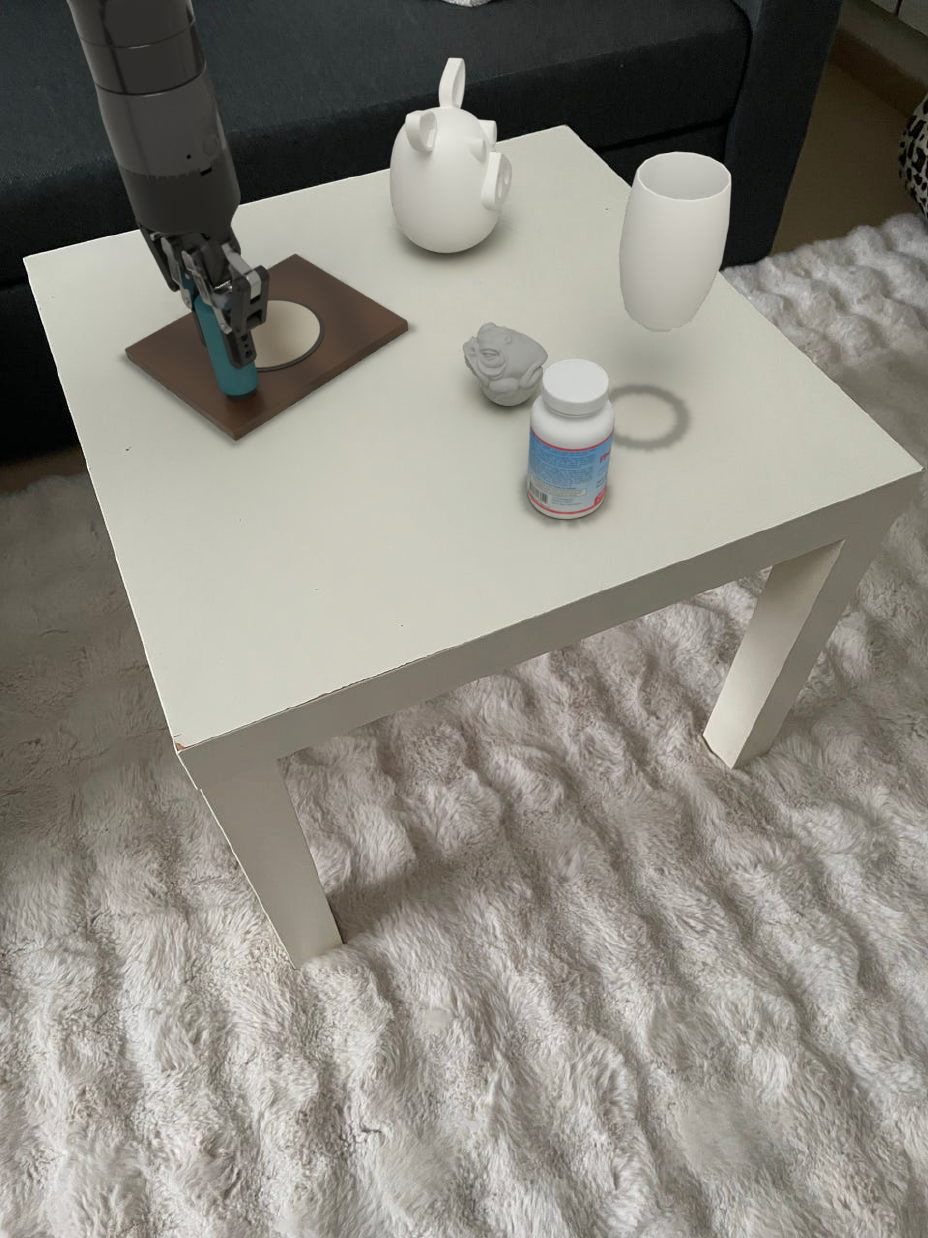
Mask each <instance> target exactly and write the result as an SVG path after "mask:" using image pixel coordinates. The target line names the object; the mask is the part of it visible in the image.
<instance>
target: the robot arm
mask: <svg viewBox="0 0 928 1238" xmlns="http://www.w3.org/2000/svg"><path fill="white" fill-rule="evenodd" d="M66 2H67V5H68V7H69V9H70V12H71V16H72V19H73V23H74V25H75V29H76V32H77V36H78V38H79V41H80V45H81V47H82V50H83V53H84V56H85V59H86V63H87V66H88V69H89V72H90V73H91V77H92V79H93V80H92V81H93V83H94V86H95V91H96V96H97V101H98V107H99V112H100V116H101V119H102V123H103V126H104V128H105V133H106V135H107V138H108V141H109V143H110V146H111V149H112V153H113V155H114V158H115V161H116V164H117V167H118V171H119V174H120V176H121V179H122V182H123V185H124V188H125V192H126V194H127V197H128V200H129V203H130V206H131V209H132V212H133V215H134V216H135V218H134V219H135V223H136V226H137V228H138V229H139V231H140V233H141V235H142V237H143V240H144V241H145V243H146V245H147V247H148V249H149V251H150V253H151V255H152V257H153V259H154V261H155V263H156V265H157V266H158V269H159V271H160V273H161V275H162V276H163V279H164V280H165V283H166V284H167V287H168V288H169V289H170V291H171V292H173V293H176V292H178V291H179V292H180V295H181V299H182V302H183V304H184V305H185V306H186V308H188V309H190V312H192V315H193V318H194V321H195V324H196V328H197V331H198V334H199V337H200V341H201V343H202V344H203V345H204V346H205V347H207V345H206V342H205V339H204V335H203V332H202V329H201V325H200V322H199V319H198V315H197V312H196V309H195V305H194V303H195V299H196V298H197V297H198V296H199V295H200V294H201V297H202V299H203V302H204V303H205V304H207V305H209V306H211V307H212V308H213V310H214V313H215V316H216V318H217V321H218V323H219V326H220V328H221V329H220V331H221V334H222V338H223V341H224V345H225V348H226V352H227V355H228V358H229V362H230V364H231V365H232V366H233V367H235V368H236V369H242V368H243V367H245V366H247V365H248V364H250V363H251V362H253V361H254V360H255V359H256V357H257V353H256V349H255V345H254V342H253V338H252V334H251V330H252V329H254V328H255V327H257V326H259V325H262V324H263V323H265V322H266V316H267V304H268V292H269V281H270V277H269V274H268V272H267V268H265V266H264V265H262V264H259V265H257V266H256V267H254V268H252V267H251V266H250V265H249V264H248V263H247V262H246V260H245V259H244V258H243V257H241V256H242V249H241V245H240V242H239V240H238V238H237V236H236V234H235V232H234V230H233V229H234V228H233V227H232V222H233V218H234V216H235V213H236V211H237V210H238V208H239V206H240V202H241V189H240V187H239V181H238V177H237V174H236V169H235V165H234V161H233V156H232V152H231V148H230V143H229V138H228V134H227V130H226V125H225V121H224V117H223V112H222V108H221V104H220V100H219V98H218V97H219V96H218V94H217V90H216V89H215V85H214V83H213V80H212V77H211V75H210V72H209V68H208V66H207V62H206V59H205V54H204V50H203V46H202V45H203V44H202V41H201V37H200V33H199V32H200V31H199V28H198V24H197V20H196V16H195V13H194V12H195V11H194V8H193V7H194V6H193V4H192V0H66ZM213 288H218V289H216V290H214V291H213ZM229 301H231V313H229V314H228V313H227V310H226V308H225V305H226V303H227V302H229Z"/></svg>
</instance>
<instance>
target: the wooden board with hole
mask: <svg viewBox="0 0 928 1238" xmlns="http://www.w3.org/2000/svg"><path fill="white" fill-rule="evenodd" d="M266 270H267V272H268V274H269V277H270V281H269V292H268V304H267V316H266V322H265V323H263V324H262V325H259V326H257V327H255V328H254V329H252V330H251V334H252V338H253V342H254V345H255V349H256V353H257V357H256V359H255V360H254V362H255V366H256V370H257V373H258V377H259V382H258V385H257V386H256V393H255V395H254V396H253V397H252V398H250V399H248V400H246V401H241V402H237V401H232V400H230V399H229V398H228V397H227V395H226V393H224V392H222V391H221V390H220V388H219V385H218V382H217V379H216V375H215V372H214V369H213V365H212V362H211V359H210V355H209V352H208V349H207V347H205V346H204V345H203V344H202V343H201V341H200V337H199V334H198V331H197V328H196V324H195V321H194V318H193V315H192V312H191V311H190V312H188V313H186V314H184V315H183V316H181V317H179V318H178V319H176V320H174V321H172V322H170V323H169V324H167V325H165V326H163V327H161V328H159V329H158V330H156V331H154V332H153V333H150V334H149V335H147V336H145V337H143V338H141V339H140V340H138V341H136V342H135V343H133V344H131V345H129V346H127V347H126V348H124V352H125V355H126V357H127V359H129V360H130V361H132V362H133V363H134V364H135V365H136V366H138V367H139V368H140V369H142V370H143V371H144V372H146V374H148V375H150V376H151V377H152V378H153V379H155V380H156V381H157V382H158V383H160V384H161V385H163V386H164V387H165V388H166V389H168V390H169V391H170V392H172V393H173V394H174V395H176V396H177V397H178V398H179V399H181V400H182V401H184V402H185V403H186V404H187V405H189V406H190V407H191V408H193V409H194V410H195V411H197V412H198V413H199V414H200V415H202V416H203V417H204V418H206V419H207V420H208V421H209V422H210V423H212V424H213V425H215V426H216V427H217V428H218V429H220V430H221V431H223V432H224V433H225V434H227V436H229V437H231V438H232V439H233V440H234V441H238V440H240V439H241V438H243V437H245V435H248V434H249V433H250V432H252V431H253V430H255V429H256V428H258V427H259V426H261V425H262V424H264V423H266V422H267V421H268V420H271V419H272V418H273V417H275V416H276V415H278V414H279V413H281V412H283V411H284V410H286V409H287V408H289V407H290V406H292V405H294V404H295V403H297V402H298V401H300V400H301V399H303V398H304V397H306V396H308V395H309V394H311V393H312V392H314V391H315V390H317V389H319V388H321V386H323V385H325V384H327V383H328V382H329V381H331V380H332V379H334V378H335V377H337V376H338V375H340V374H342V373H343V372H344V371H346V370H347V369H349V368H351V367H352V366H354V365H356V364H357V363H359V362H360V361H362V360H363V359H365V358H366V357H368V356H369V355H371V354H373V353H374V352H376V351H377V350H379V349H380V348H382V347H383V346H385V345H386V344H388V343H390V342H391V341H393V340H394V339H396V338H397V337H399V336H401V335H402V334H404V333H405V332H407V331H408V330H409V325H408V324H409V323H408V320H407V319H405V318H404V317H402V316H400V315H399V314H397V313H396V312H394V311H393V310H390V309H389V308H388V307H385V306H384V305H382V304H381V303H379V302H377V301H376V300H374V299H372V298H370V297H369V296H367V295H365V294H364V293H362V292H360V291H359V290H357V289H355V288H354V287H352V286H350V285H349V284H347V283H346V282H344V281H342V280H341V279H339V278H337V277H336V276H334V275H332V274H330V273H329V272H327V271H325V270H324V269H322V268H320V267H319V266H317V265H316V264H314V263H312V262H310V261H309V260H308V259H305V258H304V257H303V256H301V255H299V254H297V253H293V254H292V255H290V256H288V257H287V258H285V259H283V260H281V261H279V262H278V263H276V264H274V265H272V266H270V267H268V268H266Z"/></svg>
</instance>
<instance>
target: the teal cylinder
mask: <svg viewBox="0 0 928 1238" xmlns="http://www.w3.org/2000/svg"><path fill="white" fill-rule="evenodd" d="M218 288H219V287H215V288H213V291H214V290H216V289H218ZM194 305H195V309H196V312H197V315H198V319H199V322H200V325H201V329H202V332H203V335H204V339H205V342H206V345H207V349H208V352H209V355H210V359H211V362H212V365H213V369H214V372H215V375H216V379H217V382H218V385H219V388H220V390H221V391H222V392H224V393H226V395H227V397H228V398H229V399H230V400H232V401H237V402H241V401H246V400H248V399H250V398H252V397H253V396H254V395H255V393H256V386H257V385H258V382H259V377H258V373H257V370H256V366H255V362H254V361H253V362H251V363H250V364H248V365H247V366H245V367H243V368H242V369H236V368H235V367H233V366H232V365H231V364H230V362H229V358H228V355H227V352H226V348H225V345H224V341H223V338H222V334H221V331H220V329H221V328H220V326H219V323H218V321H217V318H216V316H215V313H214V310H213V308H212V307H211V306H209V305H207V304H205V303H204V302H203V299H202V297H201V294H200V295H199V296H198V297H197V298H196V299H195V303H194ZM225 308H226V310H227V313H228V314H229V313H231V301H229V302H227V303H226V305H225Z"/></svg>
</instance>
